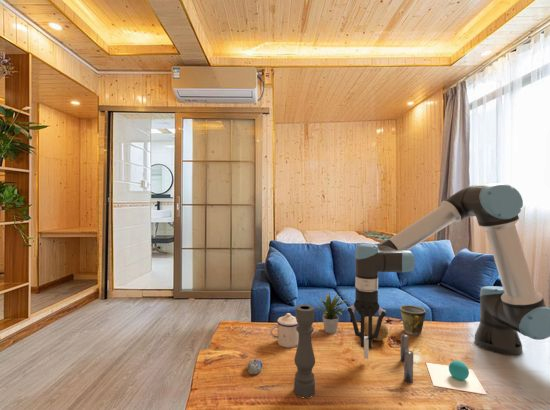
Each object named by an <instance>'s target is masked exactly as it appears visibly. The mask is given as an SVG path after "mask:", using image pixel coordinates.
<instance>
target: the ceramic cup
mask: <svg viewBox="0 0 550 410" xmlns="http://www.w3.org/2000/svg"><path fill="white" fill-rule="evenodd" d="M400 315H401V320H402V321H401V322H402V325H403V331H404V330H405V331H404V332H405V334H408V333H409V334H408V335H411V336H419V335H422V333H423V331H422V330H423V327H424V322H425V317H426V309H425V308H423V307H421V306H418V305H417V306H416V305H410V304H409V305H408V304H407V305H401V306H400Z"/></svg>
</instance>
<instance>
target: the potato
mask: <svg viewBox="0 0 550 410" xmlns="http://www.w3.org/2000/svg"><path fill="white" fill-rule="evenodd" d="M377 320H378V317H376V316H375V315H374V316H372V333H374V331H375V327H376V324H377ZM364 335H365V336H367V337H368V316H365V317H364ZM388 335H389V329H388V326H387V324H386V323H385V322H384V321H383V320H382V323H381V327H380V330H379V334H378V338H377V339H375V338H374V339H372V341H373V340H374V341H375V342H376V341H377V342H378V341H379V342H381V341H382V340H384V339H387V336H388Z"/></svg>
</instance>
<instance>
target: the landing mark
mask: <svg viewBox="0 0 550 410" xmlns="http://www.w3.org/2000/svg"><path fill="white" fill-rule="evenodd" d="M425 365H426V367H427V370H428V374H429V376H430V379H431V383H432V385H433V387H437V388H438V387H439V388H443V389H447V390H448V389H449V390H455V391H461V392H467V393H472V394H478V395H484V396H488V395H487V392H486V390H485V389H484V387H483V385H482V384H481V382H480V381H479V379H478V377H477V376H476V374H475V372H474V371H473V369H471V368H468V370H469V375H468V377H467V378H466V379H465V380H458V379H455V378H454V377H453V376H452V375H451V374H450V372H449V365H444V364H439V363H431V362H425Z"/></svg>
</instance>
